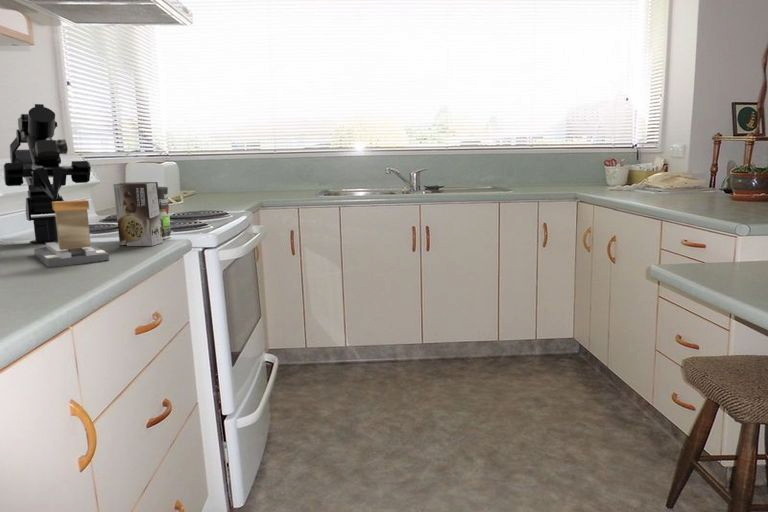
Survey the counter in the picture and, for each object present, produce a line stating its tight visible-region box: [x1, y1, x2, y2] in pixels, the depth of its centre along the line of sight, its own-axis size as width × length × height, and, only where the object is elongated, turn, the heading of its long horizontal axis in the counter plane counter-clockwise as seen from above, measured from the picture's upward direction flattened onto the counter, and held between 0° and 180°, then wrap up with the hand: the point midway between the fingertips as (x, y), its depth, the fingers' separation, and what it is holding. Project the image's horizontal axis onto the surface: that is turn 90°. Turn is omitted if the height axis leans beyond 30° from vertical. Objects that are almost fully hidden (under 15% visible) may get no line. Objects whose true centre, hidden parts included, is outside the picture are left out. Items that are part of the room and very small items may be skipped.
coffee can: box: [158, 186, 172, 240], centre depth 166 cm, size 10×10×14 cm
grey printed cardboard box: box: [112, 181, 164, 247], centre depth 155 cm, size 9×6×16 cm
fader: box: [52, 199, 92, 255], centre depth 132 cm, size 4×7×12 cm, turn 127°
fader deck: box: [33, 242, 110, 268], centre depth 138 cm, size 20×12×3 cm, turn 37°
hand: (55, 198), depth 145 cm, fingers closed
